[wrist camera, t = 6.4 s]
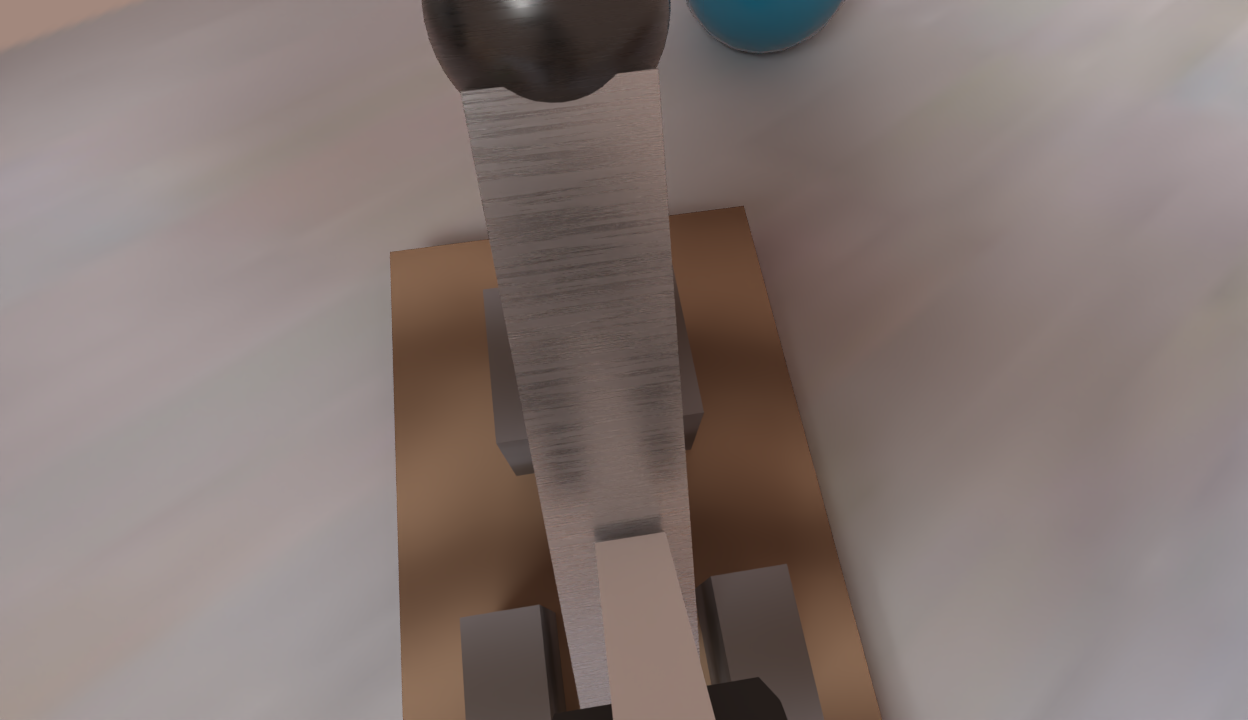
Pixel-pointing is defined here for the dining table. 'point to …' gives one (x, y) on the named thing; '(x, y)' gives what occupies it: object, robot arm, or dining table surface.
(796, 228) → the dining table surface
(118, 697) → the dining table surface
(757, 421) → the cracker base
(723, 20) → the ball
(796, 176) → the dining table surface
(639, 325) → the lever
